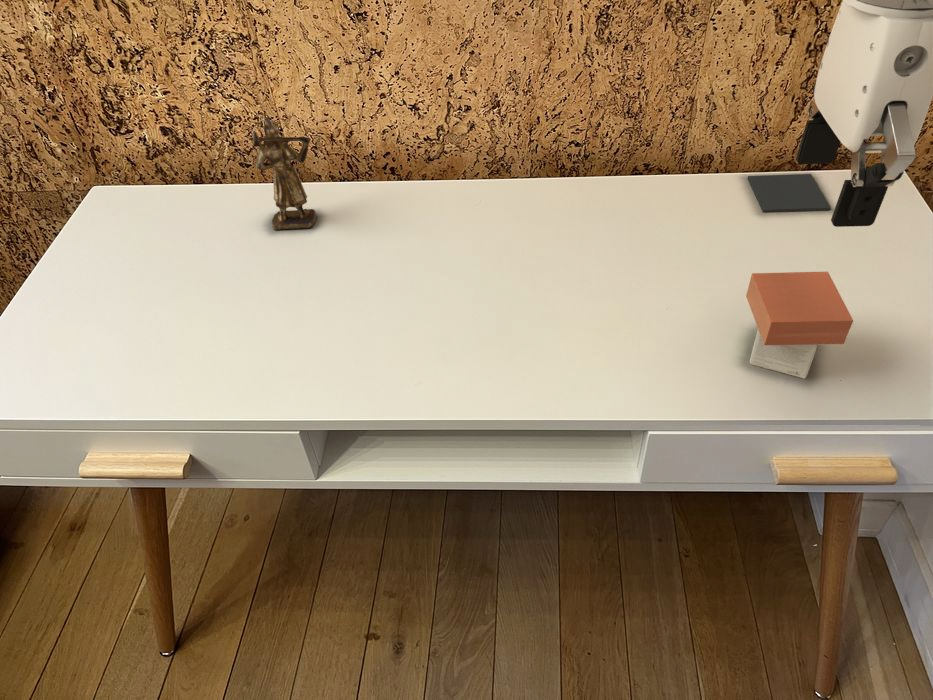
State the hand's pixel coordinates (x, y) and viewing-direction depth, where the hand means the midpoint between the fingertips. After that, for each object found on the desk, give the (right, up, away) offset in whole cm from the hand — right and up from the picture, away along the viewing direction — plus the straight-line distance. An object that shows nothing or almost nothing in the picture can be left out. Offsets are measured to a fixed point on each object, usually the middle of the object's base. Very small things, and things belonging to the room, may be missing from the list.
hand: (831, 191), depth 63 cm
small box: (+1, -14, +13) cm, 20 cm away
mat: (+11, +7, +35) cm, 37 cm away
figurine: (-54, +4, +37) cm, 65 cm away
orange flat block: (+1, -10, +10) cm, 14 cm away
